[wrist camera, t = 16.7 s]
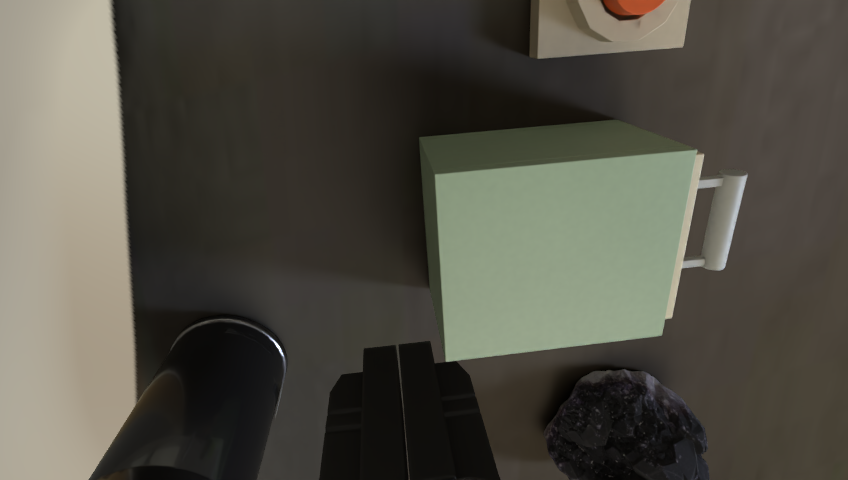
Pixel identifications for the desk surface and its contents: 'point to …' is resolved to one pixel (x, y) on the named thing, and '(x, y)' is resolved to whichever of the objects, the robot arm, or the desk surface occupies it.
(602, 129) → the box
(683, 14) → the control pad
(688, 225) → the basket drawer
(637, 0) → the button
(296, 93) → the desk surface
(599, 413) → the crystal cluster
